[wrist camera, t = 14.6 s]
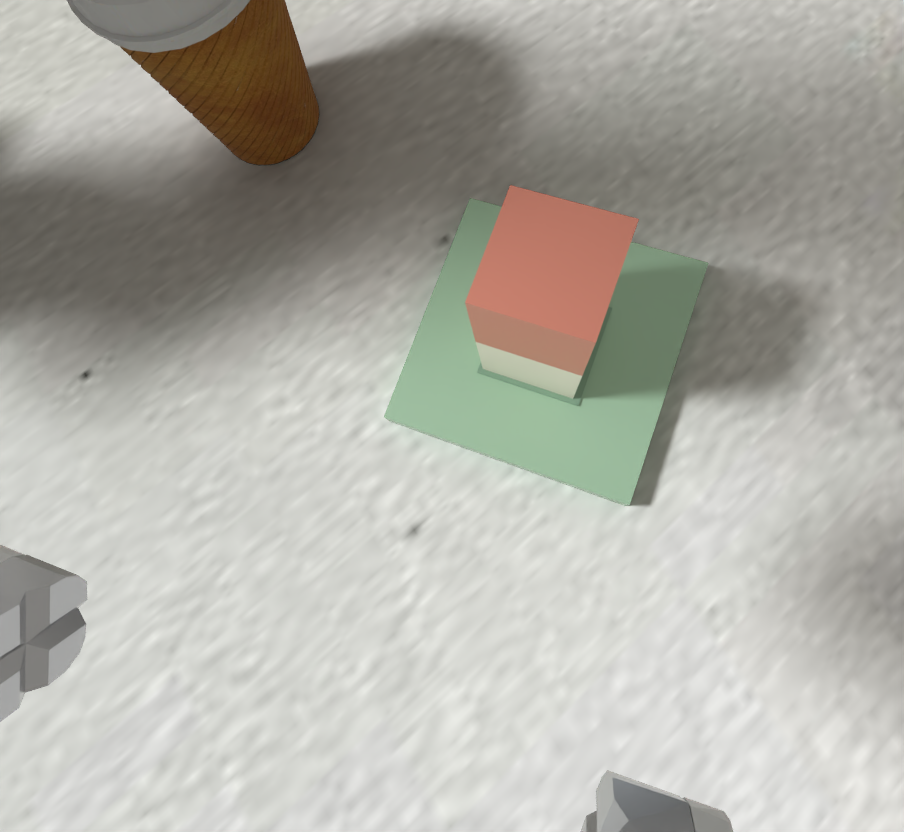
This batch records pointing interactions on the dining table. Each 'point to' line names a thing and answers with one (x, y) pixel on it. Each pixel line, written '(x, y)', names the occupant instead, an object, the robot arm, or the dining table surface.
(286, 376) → the dining table surface
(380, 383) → the dining table surface
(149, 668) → the dining table surface
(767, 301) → the dining table surface
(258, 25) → the disposable coffee cup
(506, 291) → the pink and cream block
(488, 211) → the baseplate
